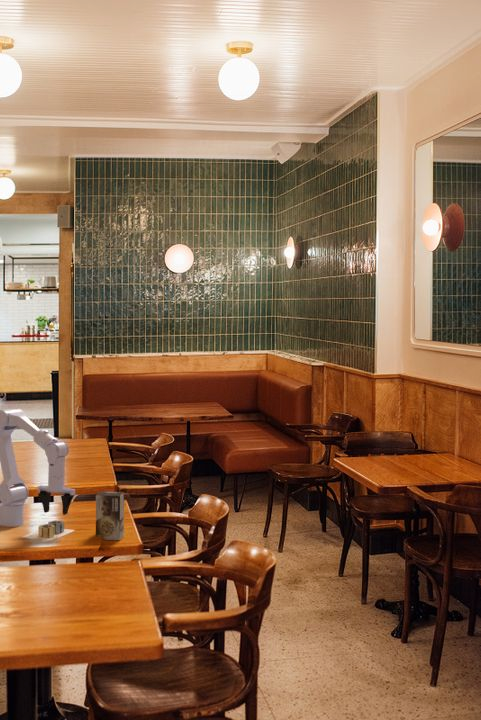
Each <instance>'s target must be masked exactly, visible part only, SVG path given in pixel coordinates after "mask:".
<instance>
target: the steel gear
mask: <svg viewBox="0 0 481 720" xmlns="http://www.w3.org/2000/svg"><path fill="white" fill-rule="evenodd" d="M54 521H55V520H52V521H48V522H47V524H51V525H55V534H60V533H63V532H64V529H65V521H62V520H57V521H58V523H57V524H54Z"/></svg>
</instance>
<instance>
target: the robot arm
mask: <svg viewBox="0 0 481 720" xmlns="http://www.w3.org/2000/svg"><path fill="white" fill-rule="evenodd" d="M18 427H19V428H20V429H21V430H23V431H24V432H26V433H27V434H29V436H31V437H33V442H34V443H35V444H36V445H38V447H40V448H41V449H42V450H43V451H44V452H45V455H46V458H47V462H48V477H47V478H48V483H47V485H37V492H38V494H37V495H38V498H39V500H40V502H41V504H42V508H43V512H44V513H45V514H46V513H49V512H50V502H51V501H50V500H51V496H52V493H53V494H63V495H61V496H60V499H61V503H62V504H61V505H62V515H64V516H66V515H68V511H69V508H70V505H71V503H72V501H73V499H74V497H75V495H76V489H75V488H70V487H66V486H65V485H66V484H65V478H66V477H65V476H66V473H65V472H66V457H67V456H68V454H69V451H70V448H69V445H68V444H67V443H66V441H63V440H58V438H57V437H54V436H53V435H52V434H51V433H50V431H49V430H48V429H40V428H39V427H38V426H37V425H35V423H34V422H33V421H32V420H31V419H29V418H28V416H27V415H26V412H25V411H24V410H22V409H21V408H19V407H17V408H11V409H10V408H9V409H0V468H1V473H2V478H3V480H2V482H0V526H3V527H7V528H8V527H9V528H15V527H18V528H19V527H21V526H24V523H25V522H24V521H25V518H24V517H25V515H24V514H25V513H24V511H25V510H24V509H25V507H24V506H25V503H26V500H28V497H29V488H28V487H27V485H26V482H25V480H24V479H23V478H22V477H21V476H19V470H18V466H17V461H16V457H15V456H16V455H15V451H14V446H13V442H12V437H11V436H12V434H13V433H14V431H15V430H16V429H17V428H18Z"/></svg>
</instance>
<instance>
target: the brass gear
mask: <svg viewBox="0 0 481 720" xmlns="http://www.w3.org/2000/svg"><path fill="white" fill-rule="evenodd" d="M38 530H39V533H38V536H39V537H41V538H42V537H43V538H48V537H49V538H50V537H53V536H55V525H51V524H49V527H45V524H40V525H39V526H38Z"/></svg>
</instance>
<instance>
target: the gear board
mask: <svg viewBox="0 0 481 720" xmlns="http://www.w3.org/2000/svg"><path fill="white" fill-rule="evenodd" d="M53 521H54V524H57V523H58V521H59V520H53ZM44 525H45V527H49V524H48V523H44ZM75 531H76V530H75V529H69V528H68V529H67V528H64V532H63V533H60V534H55V536H53V537H50V538H49V537H48V538H43V537H42V538H41V537H39V536H38V533H39V529H37V530H35V531H33V532H31V533H28V534H26V535H22V538H26V539H32V540H33V539H34V540H39V541H40V540H42V541H51V542H52V541H54V540H56V539H58V538H61V537H63V536H66V535H68V534H71V533H73V532H75Z"/></svg>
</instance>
